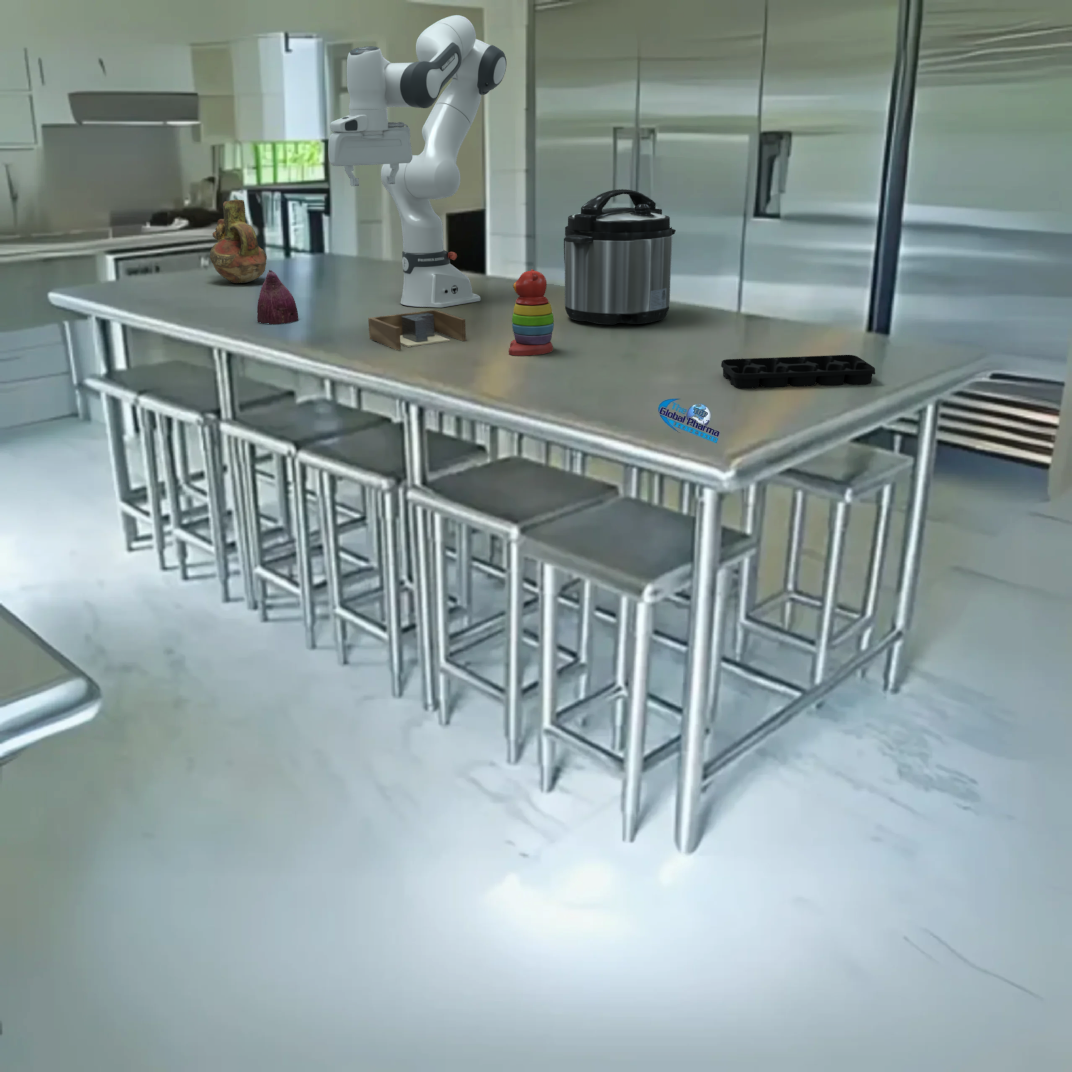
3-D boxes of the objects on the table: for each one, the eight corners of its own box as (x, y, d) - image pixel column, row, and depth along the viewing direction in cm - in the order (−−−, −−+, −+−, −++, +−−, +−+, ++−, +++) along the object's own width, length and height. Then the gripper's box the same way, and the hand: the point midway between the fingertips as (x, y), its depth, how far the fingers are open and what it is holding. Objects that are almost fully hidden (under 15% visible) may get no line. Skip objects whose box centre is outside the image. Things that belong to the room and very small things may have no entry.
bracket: (402, 337, 256) (401, 316, 254) (428, 333, 259) (427, 312, 257) (416, 342, 250) (415, 320, 248) (442, 338, 254) (441, 317, 252)
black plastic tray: (885, 385, 212) (888, 367, 211) (749, 399, 204) (750, 379, 203) (837, 366, 228) (839, 348, 226) (708, 377, 220) (709, 359, 218)
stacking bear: (510, 345, 248) (509, 267, 241) (554, 345, 248) (553, 266, 241) (507, 356, 238) (506, 274, 231) (553, 355, 238) (553, 274, 231)
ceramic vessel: (244, 274, 352) (235, 194, 342) (285, 283, 334) (277, 199, 325) (195, 280, 341) (185, 198, 332) (235, 290, 324) (225, 203, 314)
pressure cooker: (657, 305, 292) (661, 183, 280) (688, 326, 266) (694, 192, 254) (549, 310, 288) (548, 186, 276) (570, 331, 262) (570, 195, 250)
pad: (428, 333, 261) (428, 331, 261) (449, 341, 253) (449, 339, 253) (387, 338, 256) (387, 337, 256) (407, 347, 247) (407, 345, 247)
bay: (436, 329, 265) (435, 309, 263) (466, 340, 253) (465, 319, 251) (369, 338, 256) (368, 317, 254) (396, 350, 244) (395, 328, 243)
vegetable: (289, 337, 275) (284, 282, 266) (251, 330, 276) (245, 276, 267) (305, 319, 283) (301, 265, 274) (268, 313, 285) (263, 259, 275)
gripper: (403, 121, 257) (406, 182, 263) (323, 123, 247) (328, 186, 252) (415, 121, 252) (418, 183, 258) (333, 123, 242) (338, 188, 248)
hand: (373, 185), depth 255 cm, fingers open, 8 cm apart
